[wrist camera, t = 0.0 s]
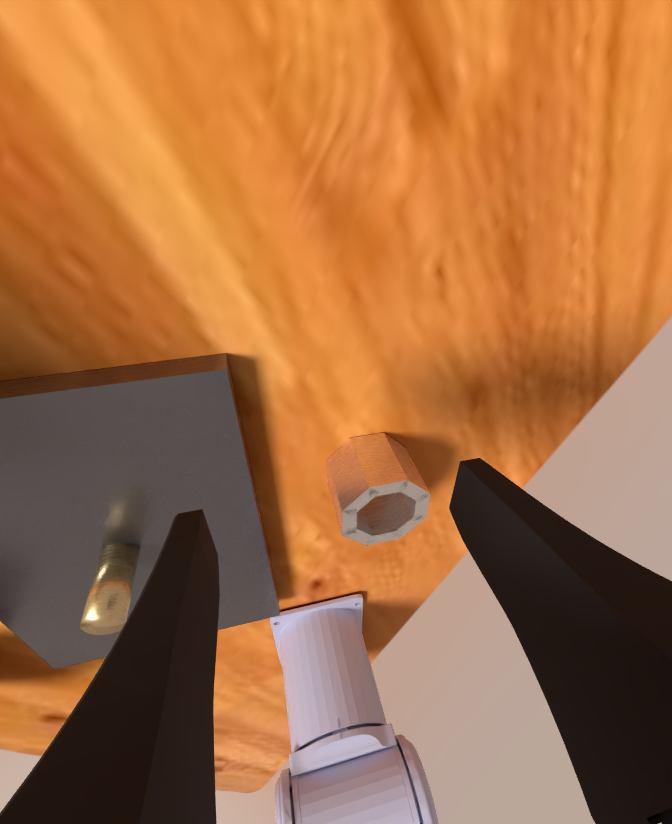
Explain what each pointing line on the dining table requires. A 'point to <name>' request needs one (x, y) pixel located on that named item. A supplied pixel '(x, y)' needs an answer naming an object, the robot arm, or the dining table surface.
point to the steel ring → (376, 489)
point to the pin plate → (120, 498)
